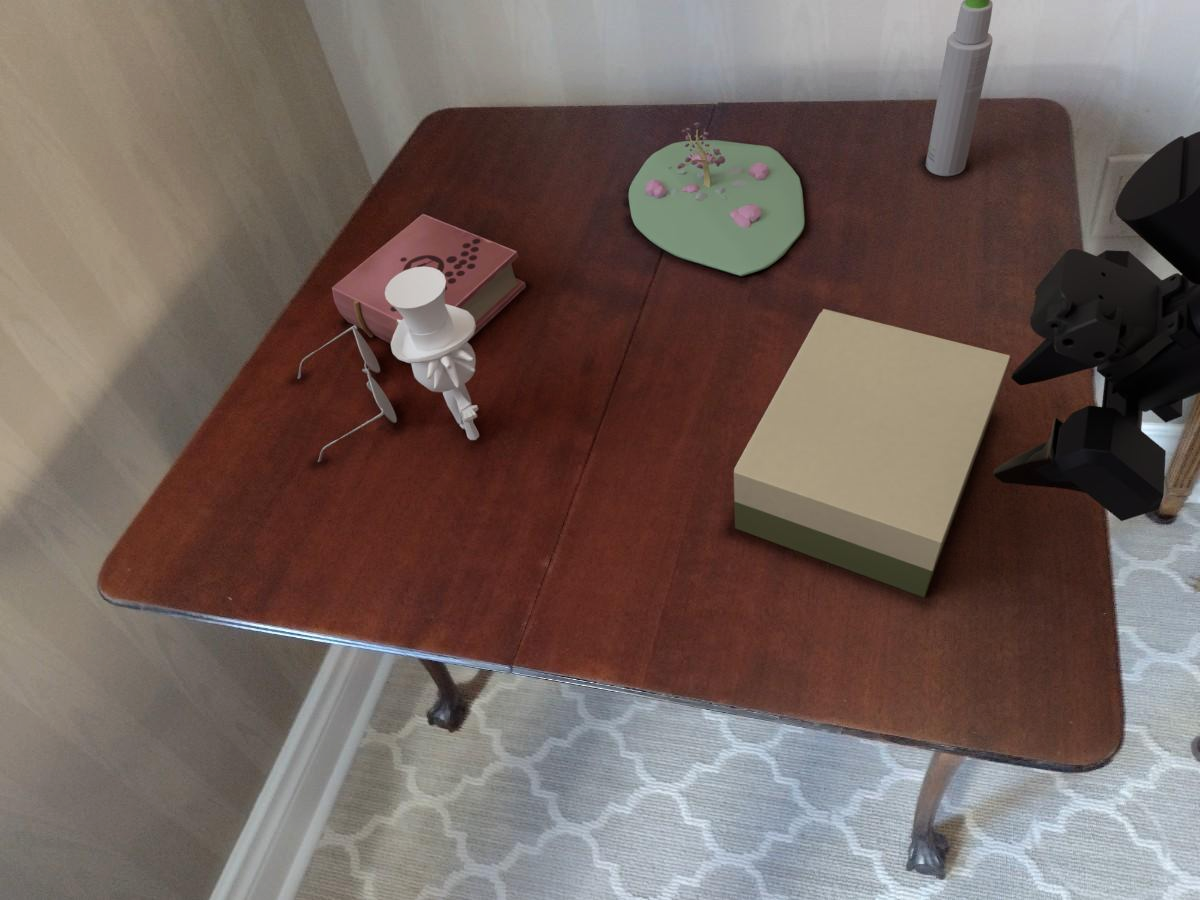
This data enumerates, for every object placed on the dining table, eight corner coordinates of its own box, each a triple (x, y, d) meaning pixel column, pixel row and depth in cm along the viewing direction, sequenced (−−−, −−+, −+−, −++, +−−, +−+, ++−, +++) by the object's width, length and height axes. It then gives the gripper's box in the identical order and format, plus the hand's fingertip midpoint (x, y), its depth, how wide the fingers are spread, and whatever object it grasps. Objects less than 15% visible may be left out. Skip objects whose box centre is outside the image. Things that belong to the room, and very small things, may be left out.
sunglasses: (402, 435, 87) (378, 405, 83) (326, 474, 87) (299, 446, 83) (373, 347, 96) (350, 316, 92) (304, 383, 96) (278, 353, 92)
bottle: (938, 150, 105) (971, -25, 89) (972, 162, 102) (1012, -16, 87) (917, 168, 103) (947, -7, 88) (952, 181, 101) (989, 3, 85)
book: (342, 326, 99) (325, 292, 95) (434, 248, 105) (422, 213, 102) (433, 373, 92) (419, 338, 88) (525, 287, 99) (516, 251, 95)
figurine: (524, 446, 84) (480, 304, 70) (450, 480, 83) (390, 342, 69) (484, 378, 91) (437, 236, 77) (415, 409, 89) (354, 270, 75)
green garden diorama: (863, 226, 98) (872, 154, 91) (703, 299, 94) (699, 230, 87) (739, 127, 113) (738, 59, 106) (596, 187, 109) (586, 121, 102)
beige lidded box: (990, 418, 79) (1010, 355, 73) (924, 598, 69) (941, 542, 63) (816, 369, 86) (821, 308, 79) (733, 527, 76) (731, 471, 69)
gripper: (1149, 135, 53) (945, 272, 65) (1131, 351, 42) (895, 463, 55) (1271, 248, 55) (1051, 359, 68) (1281, 479, 45) (1021, 558, 57)
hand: (1006, 426), depth 62 cm, fingers open, 9 cm apart
